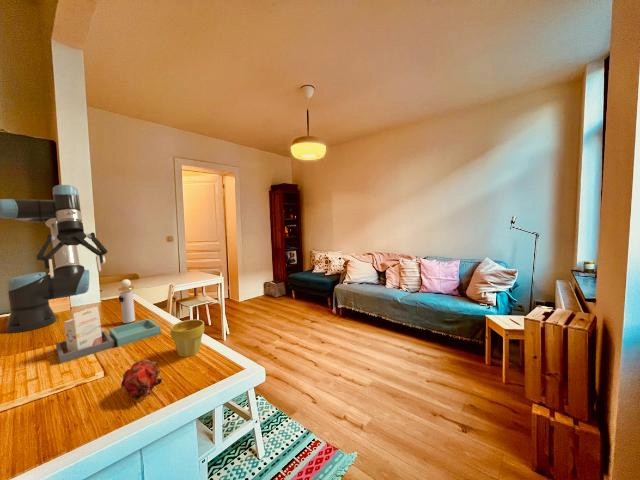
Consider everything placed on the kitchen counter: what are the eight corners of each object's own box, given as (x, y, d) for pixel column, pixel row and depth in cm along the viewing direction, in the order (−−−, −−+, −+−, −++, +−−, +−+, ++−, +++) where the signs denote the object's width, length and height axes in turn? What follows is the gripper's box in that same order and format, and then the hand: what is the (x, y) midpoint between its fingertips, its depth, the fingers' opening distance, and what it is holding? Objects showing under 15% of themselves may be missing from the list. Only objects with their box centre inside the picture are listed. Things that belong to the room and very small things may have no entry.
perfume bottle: (134, 319, 123) (131, 277, 121) (138, 322, 119) (135, 278, 117) (119, 323, 118) (116, 279, 117) (123, 326, 114) (119, 281, 113)
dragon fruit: (145, 383, 76) (148, 413, 66) (113, 377, 71) (111, 408, 61) (163, 356, 77) (169, 382, 68) (134, 349, 72) (135, 375, 63)
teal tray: (109, 336, 104) (108, 329, 104) (149, 325, 115) (149, 318, 115) (118, 346, 95) (117, 338, 95) (160, 333, 106) (160, 326, 106)
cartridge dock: (56, 350, 94) (55, 343, 94) (105, 336, 104) (105, 330, 104) (60, 363, 85) (59, 356, 85) (114, 347, 95) (113, 340, 95)
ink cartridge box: (92, 342, 99) (88, 305, 98) (103, 343, 98) (99, 305, 97) (66, 354, 91) (62, 313, 90) (77, 355, 90) (73, 313, 89)
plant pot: (212, 348, 93) (210, 321, 92) (186, 362, 83) (184, 333, 83) (191, 342, 97) (190, 317, 96) (165, 356, 88) (163, 328, 87)
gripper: (22, 219, 93) (29, 277, 90) (110, 219, 111) (118, 267, 108) (23, 226, 98) (29, 282, 94) (107, 225, 116) (115, 271, 113)
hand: (77, 274), depth 101 cm, fingers open, 13 cm apart
